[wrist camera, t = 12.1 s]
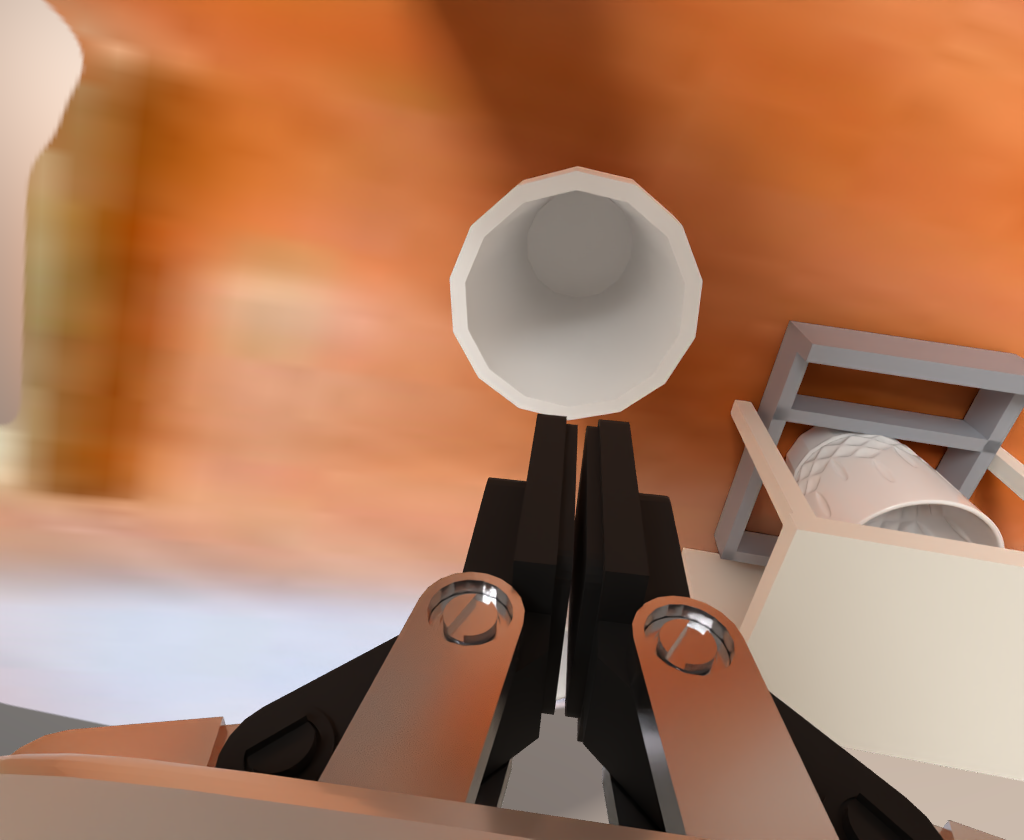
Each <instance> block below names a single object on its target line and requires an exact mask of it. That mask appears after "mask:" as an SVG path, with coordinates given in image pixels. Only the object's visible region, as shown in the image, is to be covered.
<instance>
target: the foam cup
mask: <svg viewBox="0 0 1024 840" xmlns="http://www.w3.org/2000/svg"><path fill="white" fill-rule="evenodd" d="M702 283H703V280H702V278H701V275H700V272H699V270H698V267H697V264H696V261H695V259H694V256H693V253H692V250H691V248H690V245H689V242H688V239H687V237H686V234H685V231H684V228H683V226H682V225H681V223H680V222H679V221H678V220H677V219H676V218H675V216H674V215H672V214H671V213H670V212H669V211H668V210H667V209H666V208H665V207H663V206H662V205H661V204H660V203H659V202H658V201H657V200H656V199H654V198H653V197H652V196H651V195H650V194H649V193H648V192H647V191H645V190H644V189H643V188H642V187H641V186H640V185H639V184H638V183H636V182H635V181H634V180H633V179H630V178H626V177H622V176H618V175H613V174H609V173H605V172H601V171H596V170H592V169H588V168H584V167H579V166H576V167H572V168H568V169H564V170H560V171H557V172H553V173H549V174H545V175H541V176H537V177H533V178H529V179H526V180H523V181H521V182H520V183H519V184H518V185H517V186H515V187H514V188H513V189H512V190H511V191H510V192H509V193H508V194H506V195H505V196H504V197H503V198H502V199H501V200H500V201H498V202H497V203H496V204H495V205H494V206H493V207H492V208H491V209H489V210H488V211H487V212H486V213H485V214H484V215H483V216H481V217H480V218H479V219H478V220H477V221H476V222H475V223H474V224H472V225H471V227H470V229H469V232H468V234H467V237H466V239H465V242H464V244H463V247H462V249H461V252H460V254H459V256H458V259H457V261H456V264H455V266H454V269H453V271H452V274H451V276H450V292H451V306H452V321H453V333H454V334H455V336H456V338H457V340H458V342H459V343H460V345H461V347H462V349H463V351H464V352H465V354H466V356H467V358H468V360H469V361H470V363H471V365H472V367H473V369H474V371H475V372H476V374H477V376H478V378H480V379H481V380H482V381H484V382H485V383H486V384H488V385H489V386H490V387H492V388H493V389H494V390H496V391H497V392H498V393H500V394H501V395H502V396H504V397H505V398H506V399H508V400H509V401H510V402H512V403H513V404H514V405H516V406H517V407H518V408H520V409H525V410H529V411H533V412H537V413H541V414H547V415H558V416H567V420H574V419H580V418H586V417H592V416H598V415H604V414H610V413H617V412H621V411H622V410H624V409H626V408H627V407H629V406H630V405H632V404H633V403H635V402H637V401H638V400H640V399H641V398H643V397H644V396H646V395H648V394H649V393H651V392H652V391H654V390H655V389H657V388H659V387H660V386H662V385H663V384H665V383H666V381H667V380H668V378H669V377H670V375H671V374H672V372H673V371H674V369H675V368H676V366H677V365H678V363H679V362H680V360H681V359H682V357H683V355H684V354H685V352H686V351H687V349H688V348H689V346H690V345H691V343H692V342H693V340H694V339H695V337H696V329H697V321H698V313H699V306H700V298H701V290H702Z"/></svg>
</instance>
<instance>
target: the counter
mask: <svg viewBox="0 0 1024 840" xmlns="http://www.w3.org/2000/svg"><path fill="white" fill-rule="evenodd" d="M730 414H731V416H732V418H733V420H734V422H735V424H736V427H737V429H738V431H739V433H740V435H741V437H742V439H743V441H744V444H745V446H746V448H747V450H748V452H749V454H750V456H751V458H752V460H753V463H754V465H755V467H756V469H757V471H758V473H759V475H760V477H761V480H762V482H763V484H764V486H765V488H766V490H767V492H768V494H769V497H770V499H771V501H772V503H773V505H774V507H775V509H776V511H777V514H778V516H779V518H780V520H781V522H782V524H783V527H782V530H781V532H780V535H779V537H778V539H777V542H776V544H775V547H774V549H773V551H772V554H771V556H770V558H769V561H768V563H767V566H760V565H754V564H748V563H743V562H737V561H731V560H725V559H721V558H720V554H718V553H713V552H707V551H701V550H695V549H689V548H683V550H682V553H681V554H682V559H683V564H684V569H685V574H686V578H687V583H688V588H689V593H690V598H692V599H695V600H698V601H701V602H704V603H707V604H708V605H710V606H712V607H713V608H715V609H717V610H719V611H720V612H722V613H723V614H724V615H725V616H726V617H727V618H728V619H730V620H731V621H732V622H733V623H734V624H735V625H736V627H737V628H738V630H739V631H740V633H741V634H742V636H743V637H744V640H745V642H746V644H747V646H748V648H749V650H750V652H751V654H752V656H753V659H754V661H755V663H756V665H757V667H758V669H759V671H760V673H761V675H762V678H763V680H764V682H765V684H766V686H767V688H768V690H769V691H770V692H771V693H772V694H774V695H775V696H776V697H777V698H779V699H780V700H781V701H783V702H784V703H785V704H786V705H788V706H789V707H790V708H792V709H793V710H794V711H795V712H797V713H798V714H799V715H801V716H802V717H803V718H804V719H806V720H807V721H808V722H810V723H811V724H812V725H813V726H815V727H816V728H817V729H819V730H820V731H821V732H822V733H824V734H825V735H826V736H828V737H829V738H830V739H831V740H833V741H834V742H835V743H837V744H838V745H839V746H840V747H844V748H849V749H854V750H860V751H865V752H870V753H876V754H882V755H886V756H892V757H898V758H903V759H908V760H913V761H919V762H924V763H930V764H934V765H940V766H945V767H951V768H956V769H961V770H967V771H972V772H977V773H983V774H988V775H993V776H999V777H1004V778H1010V779H1015V780H1020V781H1024V552H1023V551H1017V550H1011V549H1005V548H999V547H993V546H987V545H981V544H975V543H969V542H963V541H957V540H951V539H945V538H939V537H933V536H927V535H921V534H915V533H909V532H903V531H897V530H891V529H885V528H879V527H873V526H867V525H861V524H854V523H848V522H842V521H836V520H830V519H824V518H818V517H816V516H815V514H814V512H813V511H812V509H811V507H810V505H809V504H808V502H807V500H806V498H805V496H804V495H803V493H802V491H801V489H800V488H799V486H798V484H797V482H796V481H795V479H794V477H793V475H792V473H791V472H790V470H789V468H788V466H787V465H786V463H785V461H784V459H783V458H782V456H781V454H780V452H779V450H778V449H777V447H776V445H775V443H774V442H773V440H772V438H771V436H770V435H769V433H768V431H767V429H766V427H765V426H764V424H763V422H762V420H761V419H760V417H759V415H758V413H757V411H756V410H755V408H754V406H753V404H752V403H751V402H748V401H742V400H735V401H734V404H733V407H732V410H731V413H730ZM987 469H988V470H989V471H991V472H992V473H993V474H994V475H995V476H996V477H997V478H999V479H1000V480H1001V481H1002V482H1003V483H1004V484H1005V485H1007V486H1008V487H1009V488H1010V489H1011V490H1012V491H1013V492H1014V493H1016V494H1017V495H1018V496H1019V497H1020V498H1021V499H1022V500H1024V465H1023V464H1022V463H1021V462H1019V461H1018V460H1017V459H1016V458H1014V457H1013V456H1012V455H1011V454H1009V453H1008V452H1007V451H1006V450H1004V449H1003V448H1002V447H1001V446H1000V448H999V450H998V451H997V453H996V455H995V456H994V458H993V460H992V461H991V463H990V465H989V467H988V468H987Z"/></svg>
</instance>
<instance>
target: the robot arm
mask: <svg viewBox="0 0 1024 840" xmlns="http://www.w3.org/2000/svg"><path fill="white" fill-rule="evenodd" d="M566 420H567V416H558V415H547V414H538V415H537V421H536V427H535V433H534V439H533V445H532V451H531V457H530V464H529V470H528V476H527V481H518V480H509V479H499V478H490V477H489V478H488V481H487V484H486V487H485V491H484V495H483V499H482V502H481V506H480V510H479V513H478V517H477V521H476V525H475V528H474V532H473V536H472V539H471V543H470V547H469V551H468V554H467V558H466V562H465V566H464V569H463V573H456V574H453V575H450V576H447V577H444V578H441V579H440V580H438V581H437V582H435V583H434V584H432V585H431V586H429V587H428V588H427V589H426V591H425V592H424V593H423V594H422V596H421V597H420V598H419V600H418V602H417V604H416V605H415V607H414V609H413V611H412V613H411V614H410V616H409V618H408V620H407V622H406V623H405V625H404V627H403V629H402V631H401V632H400V634H399V635H398V636H396V637H394V638H392V639H390V640H389V641H387V642H385V643H383V644H381V645H379V646H377V647H375V648H374V649H372V650H370V651H368V652H366V653H364V654H362V655H360V656H358V657H357V658H355V659H353V660H351V661H349V662H347V663H345V664H343V665H342V666H340V667H338V668H336V669H334V670H332V671H330V672H328V673H326V674H325V675H323V676H321V677H319V678H317V679H315V680H313V681H311V682H310V683H308V684H306V685H304V686H302V687H300V688H298V689H296V690H294V691H293V692H291V693H289V694H287V695H285V696H283V697H281V698H279V699H278V700H276V701H274V702H272V703H270V704H268V705H266V706H264V707H263V708H261V709H260V710H258V711H257V712H255V713H254V714H252V715H251V716H249V717H248V718H246V719H245V720H244V721H243V722H242V723H241V724H232V725H225V721H224V718H223V717H212V718H200V719H188V720H177V721H165V722H153V723H141V724H129V725H118V726H106V727H94V728H82V729H71V730H65V731H61V732H57V733H52V734H48V735H44V736H42V737H40V738H38V739H36V740H34V741H32V742H30V743H28V744H26V745H24V746H22V747H20V748H19V749H18V750H16V751H15V752H14V753H12V754H11V755H8V756H0V840H1005V839H1002V838H999V837H996V836H993V835H990V834H988V833H985V832H982V831H979V830H976V829H974V828H971V827H968V826H965V825H962V824H959V823H957V822H953V821H951V820H948V822H947V823H946V824H945V826H944V827H943V828H942V827H939V826H936V825H933V824H932V823H931V822H930V820H929V819H928V818H927V817H926V816H925V815H924V814H923V813H922V812H921V811H920V810H919V809H917V807H916V806H914V805H913V804H912V803H911V802H910V801H909V800H908V799H907V798H905V797H904V796H903V795H902V794H901V793H899V792H898V791H897V790H896V789H894V788H893V787H892V786H890V785H889V784H888V783H886V782H885V781H884V780H883V779H881V778H880V777H879V776H878V775H876V774H875V773H874V772H872V771H871V770H870V769H869V768H867V767H866V766H865V765H863V764H862V763H861V762H859V761H858V760H857V759H856V758H854V757H853V756H852V755H850V754H849V753H848V752H847V751H845V750H844V749H843V748H842V747H840V746H839V745H838V744H837V743H835V742H834V741H833V740H831V739H830V738H829V737H828V736H826V735H825V734H824V733H822V732H821V731H820V730H819V729H817V728H816V727H815V726H813V725H812V724H811V723H810V722H808V721H807V720H806V719H804V718H803V717H802V716H801V715H799V714H798V713H797V712H795V711H794V710H793V709H792V708H790V707H789V706H788V705H786V704H785V703H784V702H783V701H781V700H780V699H779V698H777V697H776V696H775V695H774V694H772V693H771V692H770V691H769V690H768V688H767V686H766V684H765V682H764V680H763V678H762V675H761V673H760V671H759V669H758V667H757V665H756V663H755V661H754V659H753V656H752V654H751V652H750V650H749V648H748V646H747V644H746V642H745V640H744V637H743V636H742V634H741V633H740V631H739V630H738V628H737V627H736V625H735V624H734V623H733V622H732V621H731V620H730V619H728V618H727V617H726V616H725V615H724V614H723V613H722V612H720V611H719V610H717V609H715V608H713V607H712V606H710V605H708V604H707V603H704V602H701V601H698V600H695V599H692V598H690V593H689V588H688V583H687V578H686V574H685V569H684V564H683V559H682V554H681V550H680V545H679V540H678V535H677V530H676V526H675V521H674V516H673V511H672V506H671V502H670V499H669V497H667V496H662V495H652V494H642V493H639V492H638V484H637V476H636V469H635V461H634V453H633V446H632V438H631V430H630V424H629V422H621V421H610V420H600V419H599V422H598V427H592V426H587V428H586V434H585V442H584V450H583V458H582V466H581V474H580V482H579V490H578V499H577V507H576V515H575V492H576V462H577V431H578V425H572V424H566ZM568 603H569V618H568V644H567V670H566V696H565V716H568V717H575V718H578V737H577V741H580V742H583V744H584V745H585V746H586V747H587V749H589V751H590V752H591V753H592V754H593V755H594V756H595V757H596V759H597V760H598V761H599V762H600V763H601V764H602V765H603V768H602V784H603V790H604V796H605V802H606V808H607V814H608V820H609V824H604V823H598V822H592V821H585V820H578V819H571V818H565V817H558V816H551V815H544V814H537V813H530V812H524V811H517V810H511V809H504V808H501V807H502V804H503V800H504V796H505V793H506V789H507V785H508V782H509V778H510V774H511V770H512V761H513V757H514V756H515V755H516V754H518V753H519V752H520V751H522V750H523V749H524V748H526V747H527V746H528V745H530V744H531V743H532V742H533V741H535V740H536V739H538V738H539V730H540V722H541V721H540V720H541V713H545V714H552V715H554V711H555V704H556V696H557V688H558V680H559V673H560V665H561V657H562V649H563V642H564V634H565V626H566V618H567V611H568Z"/></svg>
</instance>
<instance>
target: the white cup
mask: <svg viewBox="0 0 1024 840" xmlns="http://www.w3.org/2000/svg"><path fill="white" fill-rule="evenodd" d="M785 463H786V465H787V466H788V468H789V470H790V472H791V473H792V475H793V477H794V479H795V481H796V482H797V484H798V486H799V488H800V489H801V491H802V493H803V495H804V496H805V498H806V500H807V502H808V504H809V505H810V507H811V509H812V511H813V512H814V514H815V516H816V517H818V518H824V519H830V520H836V521H842V522H848V523H854V524H861V525H867V526H873V527H879V528H885V529H891V530H897V531H903V532H909V533H915V534H921V535H927V536H933V537H939V538H945V539H951V540H957V541H963V542H969V543H975V544H981V545H987V546H993V547H999V548H1005V547H1004V541H1003V538H1002V535H1001V533H1000V531H999V529H998V528H997V526H996V525H995V524H994V523H993V521H992V520H991V519H990V518H988V517H987V516H986V515H985V514H984V513H983V512H982V511H981V510H979V509H978V508H977V507H976V506H975V505H974V504H973V503H972V502H970V501H969V500H968V499H967V498H966V497H965V496H964V495H963V494H962V493H961V492H959V491H958V490H957V489H956V488H955V487H954V486H953V485H952V484H951V483H949V482H948V481H947V480H946V479H945V478H944V477H943V476H942V475H941V474H940V473H939V472H937V471H936V470H935V469H933V468H932V467H931V466H930V465H929V464H928V463H926V462H925V461H924V460H923V459H922V458H921V457H919V456H918V455H917V454H916V453H915V452H913V451H912V450H911V449H910V448H909V447H908V446H906V445H904V444H902V443H900V442H899V441H898V440H897V439H895V438H889V437H885V436H882V435H870V434H864V433H857V432H851V431H845V430H838V429H832V428H826V427H819V426H814V427H813V428H811V429H809V430H808V431H806V432H804V433H803V434H801V435H800V436H799V437H798V439H797V440H796V441H795V443H794V444H793V446H792V447H791V448H790V450H789V451H788V453H787V454H786V461H785Z"/></svg>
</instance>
